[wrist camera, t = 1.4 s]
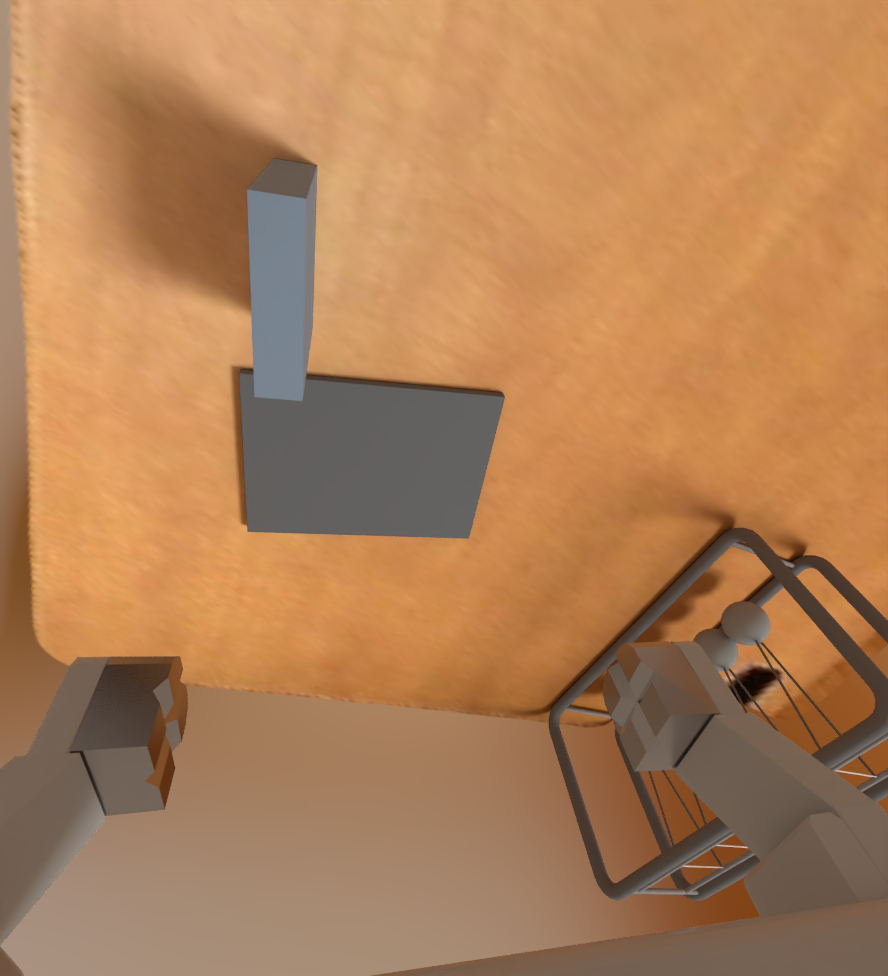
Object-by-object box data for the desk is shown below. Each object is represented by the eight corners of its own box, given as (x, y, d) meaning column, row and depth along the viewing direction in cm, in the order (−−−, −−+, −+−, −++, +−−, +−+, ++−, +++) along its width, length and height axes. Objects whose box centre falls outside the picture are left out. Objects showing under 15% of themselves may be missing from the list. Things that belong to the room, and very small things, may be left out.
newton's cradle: (614, 725, 64) (690, 909, 50) (541, 713, 60) (601, 909, 46) (815, 546, 49) (1003, 733, 35) (737, 514, 45) (912, 711, 31)
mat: (240, 368, 32) (239, 373, 31) (502, 392, 35) (504, 397, 35) (248, 526, 39) (247, 531, 38) (467, 533, 42) (468, 538, 42)
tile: (274, 322, 31) (252, 396, 24) (272, 157, 26) (244, 188, 19) (312, 326, 31) (302, 401, 24) (317, 165, 26) (306, 198, 19)
